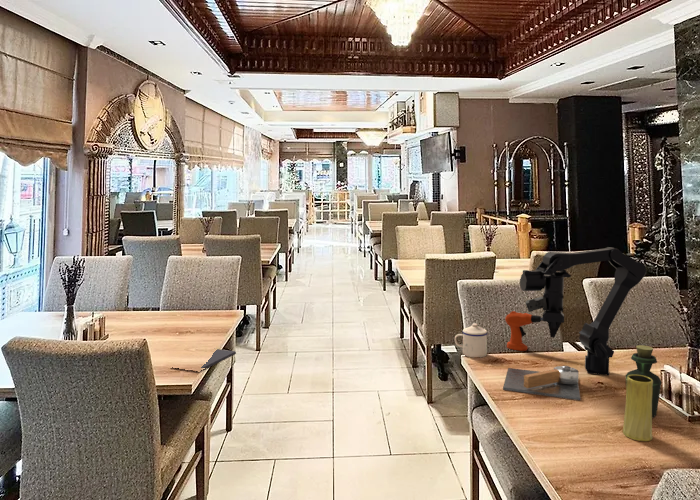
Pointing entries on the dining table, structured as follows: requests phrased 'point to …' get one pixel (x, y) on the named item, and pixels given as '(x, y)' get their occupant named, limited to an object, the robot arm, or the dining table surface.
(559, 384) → the chuck base plate
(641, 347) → the potion bottle
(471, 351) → the teacup with lid
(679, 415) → the dining table surface
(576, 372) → the wooden bar
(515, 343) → the toy drill
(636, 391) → the vase
